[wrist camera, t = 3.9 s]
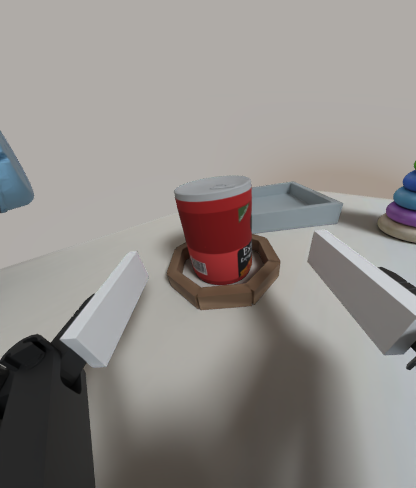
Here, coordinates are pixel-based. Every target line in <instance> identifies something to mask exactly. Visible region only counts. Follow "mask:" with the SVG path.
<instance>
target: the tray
mask: <svg viewBox="0 0 416 488" xmlns="http://www.w3.org/2000/svg"><path fill="white" fill-rule="evenodd" d="M342 206H343V203H342V202H339V201H337V200H335V199H332V198H330V197H328V196H326V195H323V194H321V193H319V192H316V191H314V190H312V189H309V188H307V187H305V186H303V185H300V184H298V183H296V182H286V183H279V184H273V185H266V186H259V187H253V188H252V234H254V233H262V232H270V231H279V230H287V229H295V228H304V227H312V226H320V225H328V224H337V223H338V219H339V216H340V213H341V209H342Z"/></svg>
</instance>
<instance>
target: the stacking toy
mask: <svg viewBox="0 0 416 488" xmlns="http://www.w3.org/2000/svg"><path fill="white" fill-rule="evenodd" d="M414 168H415V170H414V171H412V172H410V173H408V174H407V175H406V176H405V178H404V179H403V185H404V186H403V187H401V188H399V189H398V190H397V191H396V192H395V193H394V196H393V199H394V201H393V202H392V203H390V204H389V205H388V206H387V208H386V213H385V214H383V215H382V216H381V217H380V218H379V219H378V222H377V224H378V227H379V228H380V229H381V230H382V231H383V232H384V233H386V234H388V235H390V236H393V237H395V238H398V239H401V240H405V241H409V242H415V243H416V161H415V163H414Z"/></svg>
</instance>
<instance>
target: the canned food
mask: <svg viewBox="0 0 416 488" xmlns="http://www.w3.org/2000/svg"><path fill="white" fill-rule="evenodd" d="M174 193H175V200H176V203H177V208H178V212H179V216H180V220H181V224H182V228H183V231H184V235H185V239H186V243H187V247H188V251H189V254H190V258H191V262H192V266H193V269H194V271H195V273H196V274H197V275H198V277H199V278H200V279H202V280H203V281H205V282H207V283H210V284H214V285H227V284H232V283H235V282H238V281H240V280H242V279H243V278H244V277H245V276H246V275H247V274H248V272H249V270H250V268H251V265H252V185H251V179H249V178H247V177H244V176H219V177H212V178H205V179H200V180H196V181H192V182H189V183H186V184H183V185H181V186H179V187H177V188H176V189H175V190H174Z"/></svg>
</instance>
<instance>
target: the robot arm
mask: <svg viewBox="0 0 416 488" xmlns="http://www.w3.org/2000/svg"><path fill="white" fill-rule="evenodd" d="M33 198H34V193H33V190H32V187H31V184H30V182H29V180H28V178H27V176H26V175H25V172H24V170H23V168H22V166H21V165H20V163H19V161H18V159H17V157H16V156H15V154H14V152H13V150H12V149H11V147H10V146H9V144H8V143H7V141H6V139H5V137H4V136H3V134H2V133H1V131H0V213H5V212H7V211H8V210H11V209H14V208H18V207H21V206H25V205H28V204H29V203H30V202H31V201H32V200H33ZM307 262H308V263H309V264H310V265H311V267H312V268H313V269H314V270H315V272H316V273H317V274H318V275H319V276H320V278H321V279H322V280H323V281H324V283H325V284H326V285H327V286H328V287H329V289H330V290H331V291H332V292H333V294H334V295H335V296H336V297H337V298H338V300H339V301H340V302H341V303H342V304H343V306H344V307H345V308H346V309H347V311H348V312H349V313H350V314H351V315H352V317H353V318H354V319H355V320H356V322H357V323H358V324H359V325H360V326H361V328H362V329H363V330H364V331H365V333H366V334H367V335H368V336H369V337H370V339H371V340H372V341H373V342H374V344H375V345H376V346H377V347H378V348H379V350H380V351H381V352H382V353H383V355H401V354H404V353H405V352H406V351H407V350H408V349H409V348H410V347H411V348H412V349H413V350H414V351H415V352H416V287H414V286H413V285H412V284H410V283H407V281H406V280H404V279H403V278H402V277H400V276H399V275H397V274H396V273H394V272H392V271H389V270H387V269H385V268H383V267H376V266H375V265H373V264H372V263H371V262H369V261H368V260H366V259H365V258H364V257H362V256H361V255H360V254H358V253H357V252H356V251H354V250H353V249H352V248H350V247H349V246H348V245H346V244H345V243H343V242H342V241H341V240H339V239H338V238H337V237H335V236H334V235H333V234H331V233H330V232H329V231H327V230H326V229H325V230H316V231H314V234H313V238H312V243H311V247H310V252H309V256H308V261H307ZM148 279H149V275H148V273H147V271H146V269H145V267H144V264H143V262H142V260H141V258H140V256H139V253H138V251H134V252H128V253H127V254H126V256H125V257H124V258H123V259H122V261H121V262H120V263H119V264H118V266H117V267H116V268H115V270H114V271H113V272H112V273H111V275H110V276H109V277H108V278H107V280H106V281H105V282H104V283H103V285H102V286H101V287H100V289H99V290H98V291H97V292H96V294H93V295H91V296H90V297H89V298H88V299H87V300H85V301H84V303H83V304H82V305H81V306H80V308H79V310H77V311H76V312H75V314H74V316H73V317H71V319H70V320H69V321H68V322H67V323H66V325H65V326H64V327H63V328H62V330H61V331H60V332H59V333H58V334H57V336H56V337H55V338H54V339H53V341H52V342H51V343H50V342H49V341H47V340H46V339H45V338H44V337H42V336H41V335H39V334H35V335H31V336H29V337H26V338H24V339H22V340H21V341H19V342H18V343H16V344H15V345H14V346H13V347H11V348H10V349H9V350H8V351H7V352H6V353H5V354H4V355H3V357H2V358H1V360H0V364H2V365H3V366H5V367H7V368H5V367H3V366H1V365H0V488H95V478H94V466H93V454H92V443H91V431H90V419H89V408H88V396H87V384H86V373H85V371H84V369H83V368H84V366H85V364H86V362H87V363H88V364H89V365H90V366H91V367H93V368H95V367H107V364H108V362H109V360H110V358H111V356H112V354H113V352H114V350H115V348H116V346H117V344H118V341H119V339H120V337H121V335H122V333H123V331H124V329H125V327H126V325H127V323H128V321H129V318H130V316H131V314H132V312H133V310H134V308H135V306H136V304H137V302H138V300H139V298H140V295H141V293H142V291H143V289H144V287H145V285H146V283H147V281H148ZM414 366H416V357H415V358H414V359H412V360H411V361H410V362H409V363H408V364H407V367H406V369H408V370H411V369H412V368H413V367H414Z"/></svg>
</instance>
